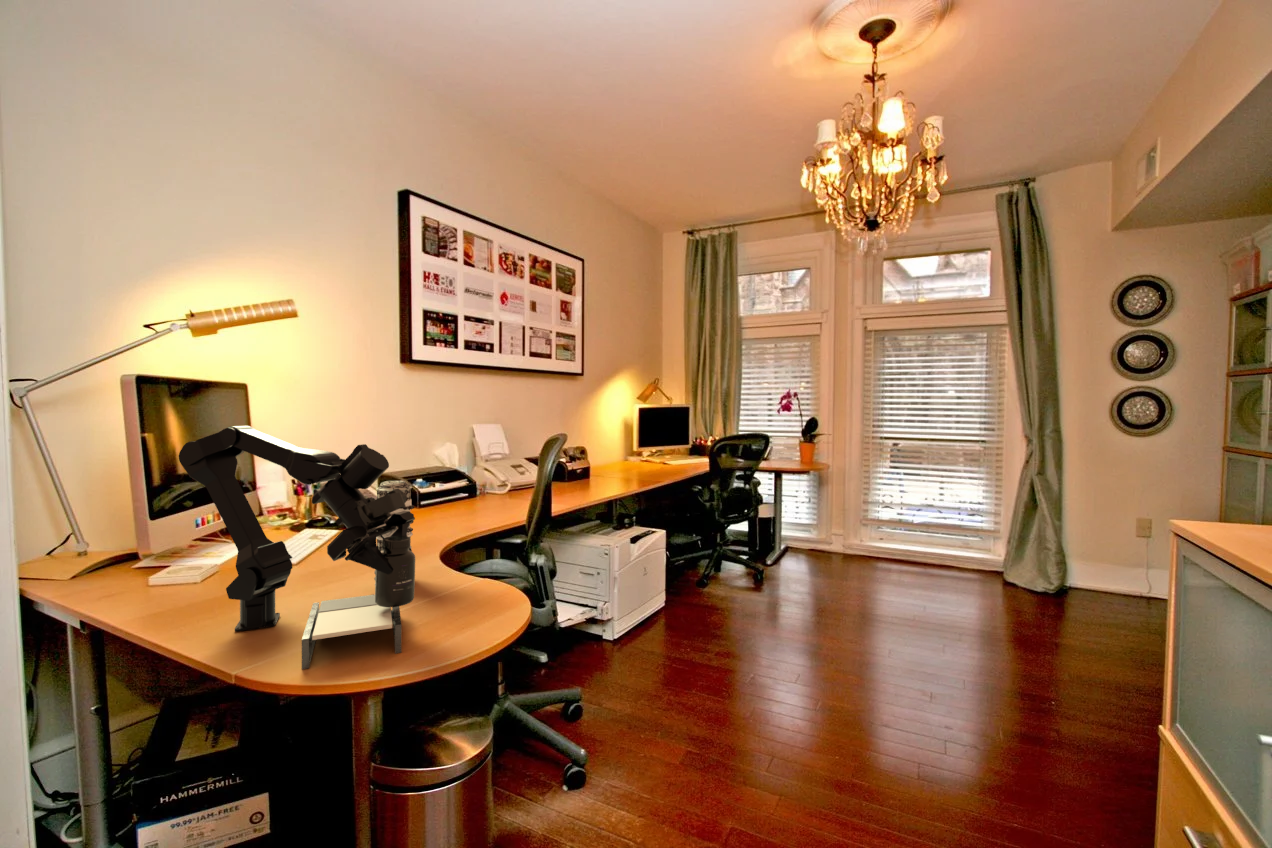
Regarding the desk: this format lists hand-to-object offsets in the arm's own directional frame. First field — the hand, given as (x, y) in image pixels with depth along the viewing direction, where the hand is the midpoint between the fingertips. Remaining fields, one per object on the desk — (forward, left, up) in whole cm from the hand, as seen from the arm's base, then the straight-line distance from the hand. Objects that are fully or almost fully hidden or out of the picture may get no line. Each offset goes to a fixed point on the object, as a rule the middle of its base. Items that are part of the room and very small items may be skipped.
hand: (402, 567), depth 100 cm
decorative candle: (-34, 0, -13) cm, 37 cm away
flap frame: (-2, -8, -13) cm, 16 cm away
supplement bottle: (-1, -1, -7) cm, 7 cm away
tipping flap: (-2, -8, -11) cm, 13 cm away
